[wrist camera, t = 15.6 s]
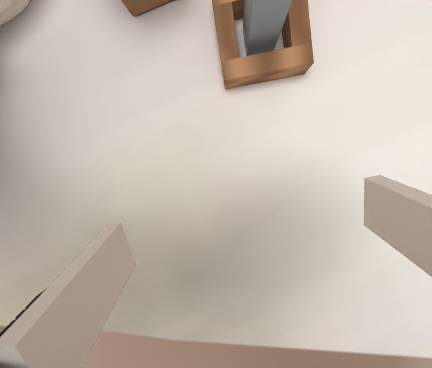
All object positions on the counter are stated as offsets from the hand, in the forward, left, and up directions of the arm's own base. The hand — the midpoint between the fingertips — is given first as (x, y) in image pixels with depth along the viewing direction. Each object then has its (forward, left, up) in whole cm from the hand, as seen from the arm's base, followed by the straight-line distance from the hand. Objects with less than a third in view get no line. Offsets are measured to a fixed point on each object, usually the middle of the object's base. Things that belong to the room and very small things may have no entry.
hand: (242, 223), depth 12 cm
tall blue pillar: (-14, +15, -24) cm, 32 cm away
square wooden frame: (-14, +15, -24) cm, 32 cm away
